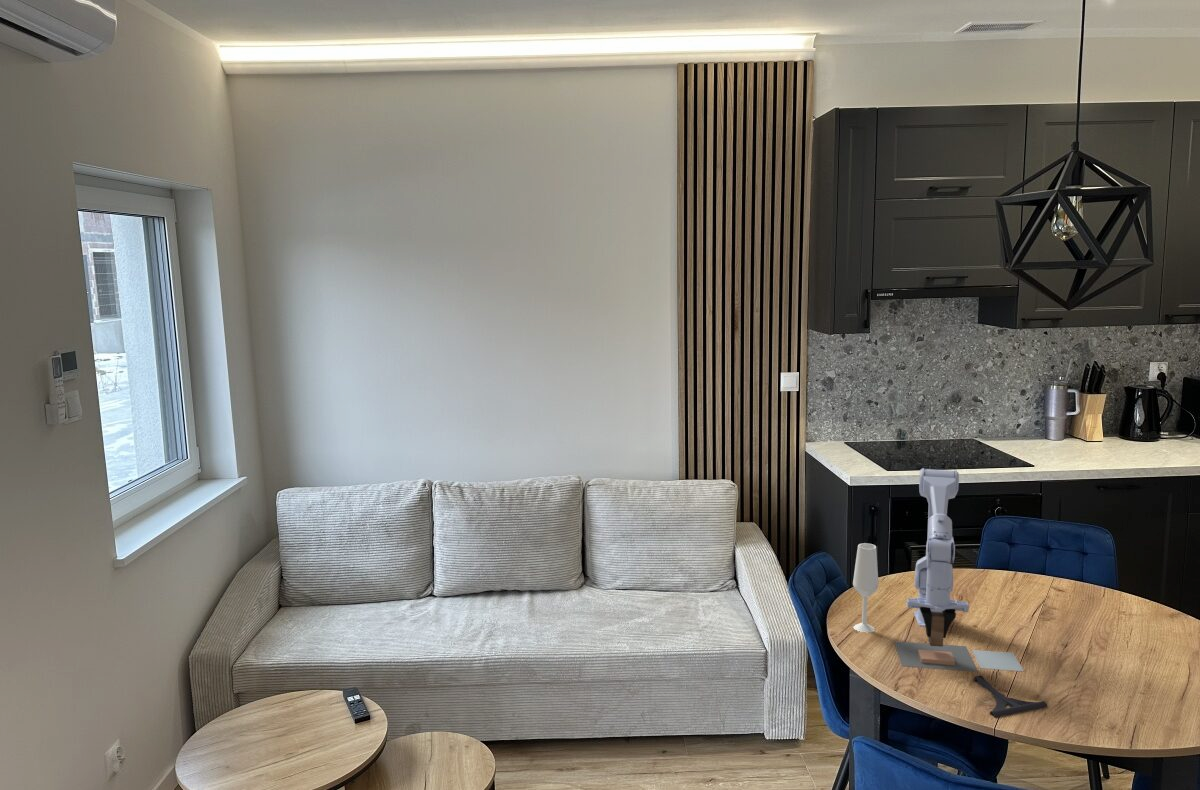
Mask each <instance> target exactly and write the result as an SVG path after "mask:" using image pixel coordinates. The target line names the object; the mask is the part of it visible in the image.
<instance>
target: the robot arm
mask: <svg viewBox="0 0 1200 790" xmlns="http://www.w3.org/2000/svg"><path fill="white" fill-rule="evenodd" d="M959 483H960V475H959V472H958V470H956V469H954V470H948V469H932V468H924V467H923V468H921V469H920V470H919V483H918V484H919V485H918V489H919V495H920V496H921V497H923V498H926V501H927V503H928V512H927V515H928V516H927V518H928V519H927V534H926V535H927V538H926V539H927V540H926V547H925V548H926V549H925V555H924V556H923V557H921V558H920V559H917V561H916V563H915V569H914V588H915V589H916V590H918V593H917V596H918V597H916V598H906V608H907V609H911V610H912V609H917V610H914V611H913V615H914V617H915V619H916V622H917V625H918V626H919V627H925V633H926V636H927V638H929V637H930V636H931V620H932V614H931V611H933V612H942V613H943V615H944V636H943V639H946V637H947V635H948V631H949V628H950V627H951V625H952V623H953V622H954V621H955V619H956V617H957V613H956V611H959V612H961V611H962V612H964V613H969V610H970V609H969V608H970V605H969V603H968V601H961V600H956V599H951V593H952V592H953V590H954V589H953V588H954V569H953V568H954V567H953V564H954V561H955V557H956V555H955V554H956V545H955V541H954V540H955V539H954V536H953V521H952V519H951V518H950V517H949V516H948V505H949V500H951V499H955V498H956V496H957V494H958V492H959Z"/></svg>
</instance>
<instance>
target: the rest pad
mask: <svg viewBox="0 0 1200 790" xmlns="http://www.w3.org/2000/svg"><path fill="white" fill-rule="evenodd" d="M971 652H972V653H973V656H974V658H975V660H976V662H977V663H978V666H979V667H980V669H984V670H1001V671H1012V672H1014V671H1015V672H1025V671H1024V669H1023V667H1022V666H1021V664H1020V662H1019V660H1018V658H1017V657H1016V655H1015V653H1014V652H1008V651H1007V652H1005V651H993V650H989V651H988V650H979V649H978V650H977V649H971Z"/></svg>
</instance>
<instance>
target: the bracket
mask: <svg viewBox="0 0 1200 790" xmlns="http://www.w3.org/2000/svg"><path fill="white" fill-rule="evenodd" d="M973 681H974V682H978V685H980V686H981V687H983V688H984V689H986V690H987V691H988V692H990V693H991V695H992V697H993V699H994V701H995V707H994V708H992V710H991V711H990V712H989V715H990V716H993V718H1000V717H1004V716H1005V717H1006V716H1010V715H1016V714H1019V713H1020V714H1021V713H1024V712H1029V711H1030V710H1031V711H1034V710H1035V709H1036V710H1040V708H1041V709H1045V707H1046V708H1048V703H1047V702H1046V701H1045V700H1040V701H1036V702H1035V701H1027V700H1023V699H1022V700H1021V699H1017V698H1013V697H1007V696H1006V695H1005V694H1003V693H1001V692H999V690H997V689H996V688H995V687H993V686H992V685H991V684H990V683H989V682H988V681H987V679H986V678H985V677H984V676H983V675H981V674H980V675H975V676H973ZM1006 706H1008V707H1006Z"/></svg>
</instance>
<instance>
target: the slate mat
mask: <svg viewBox="0 0 1200 790" xmlns="http://www.w3.org/2000/svg"><path fill="white" fill-rule="evenodd" d="M894 646H895V649H896V652H897V655H898V658H899V659H898V660H899V662H900V665H901V667H909V668H922V669H937V670H949V671H963V672H976V673H978V672H979V670H978V669H977V668H978V667H977V666H976V664H975V662H974V660H973V658H972V656H971V653H970V652H969V650H968V647H967V646H966V645H956V644H955V645H952V644H943V647H940V646H930V644H929V642H927V643H925V642H911V641H910V642H909V641H899V640H898V641H897V640H896V641H895V640H894ZM918 650H931V651H945V652H951V653H952V655H953V657H954V660H955V665H944V664H930V663H921V661H920V658H919V655H918Z"/></svg>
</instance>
